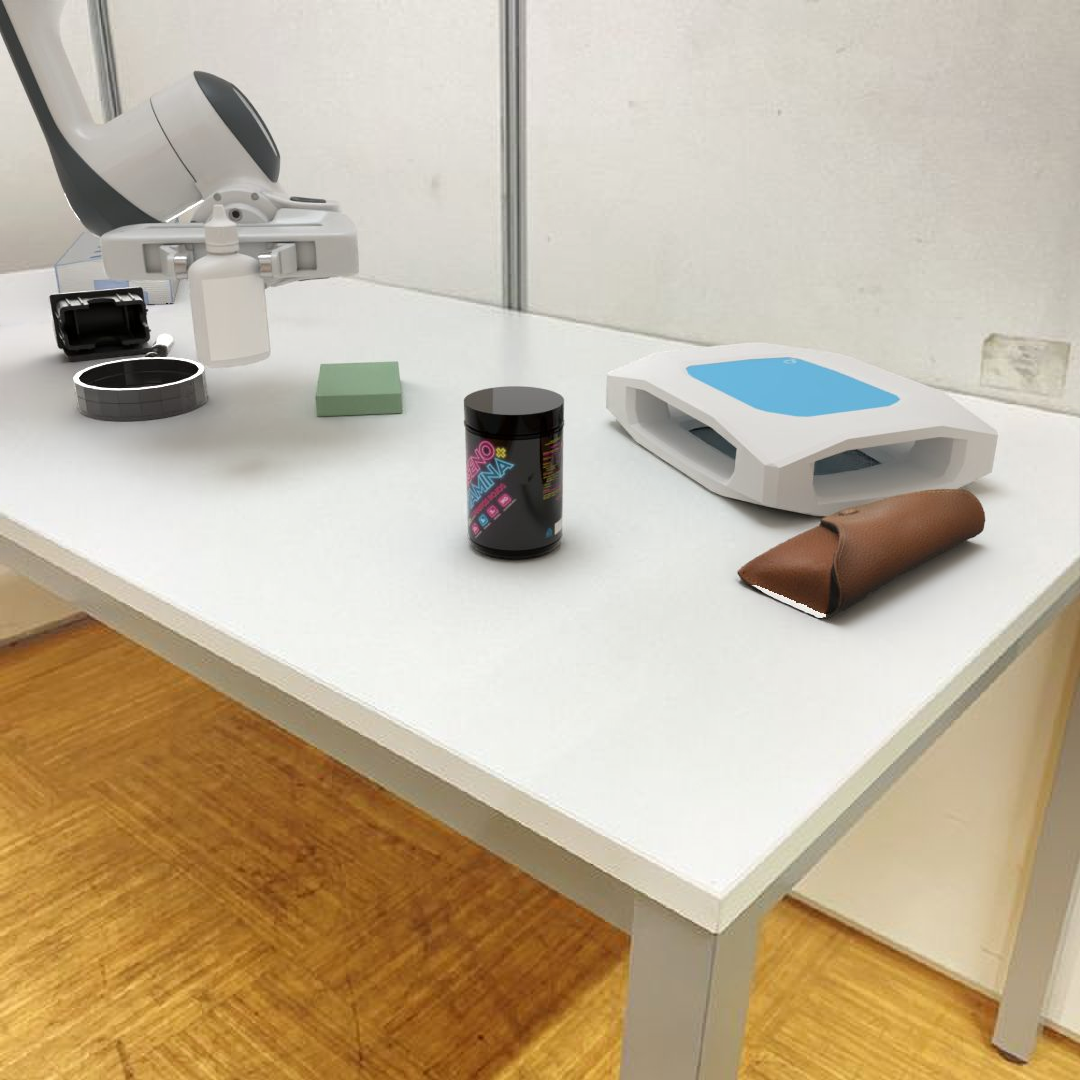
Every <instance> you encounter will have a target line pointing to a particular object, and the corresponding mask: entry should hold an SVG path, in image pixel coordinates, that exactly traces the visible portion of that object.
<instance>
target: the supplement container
mask: <svg viewBox="0 0 1080 1080" xmlns="http://www.w3.org/2000/svg"><path fill="white" fill-rule="evenodd" d="M463 426H464V438H465V439H464V441H465V443H464V444H465V480H466V518H467V519H466V520H467V538H468V539H469V542H470V544H471V546H472V547H474V549H476V551H478V552H479V553H480V554H483V555H485V556H488V557H490V558H491V557H492V558H496V559H502V560H527V559H528V560H529V559H534V558H539V557H542V556H544V555H547V554H549V553H550V552H552V551H553V550H554V549H556V547H558V545H559V544H560V542H561V540H562V538H563V522H564V521H563V520H564V519H563V517H564V516H563V515H564V514H563V513H564V512H563V511H564V509H563V508H564V507H563V506H564V505H563V504H564V497H563V495H564V426H565V398H564V396H563V395H561V394H560V393H558V392H555V391H553V390H549V389H546V388H541V387H535V386H524V385H523V386H522V385H521V386H520V385H519V386H517V385H513V386H512V385H511V386H510V385H507V386H495V387H489V388H483V389H479V390H476V391H473V392H471V393H469V394H467V395H466V396H465V397H464V398H463Z"/></svg>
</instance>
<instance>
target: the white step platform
mask: <svg viewBox="0 0 1080 1080" xmlns="http://www.w3.org/2000/svg"><path fill="white" fill-rule="evenodd" d="M605 389H606V391H605V392H606V393H605V408H606V409H607V410H608V412H609V413H610V414H611V415H612V416H613V417H614V419H616V420H617V421H618V423H619V424H620V426H622V428H623V429H625V431H626V432H627V433H628V434H629V435H630V437H631V438H632V439H633V440H634V441H635V442H636V443H637V444H639V445H640V446H642V447H644V448H645V449H646V450H648V451H649V452H651V453H652V454H654V455H656V456H657V457H658V458H660V459H662V460H663V461H665V462H666V463H668V464H669V465H671V466H673V468H675V469H677V470H678V471H680V472H682V473H683V474H685V475H686V476H688V477H689V478H691V479H692V480H694V481H695V482H697V483H699V484H700V485H701V486H702V487H704V488H706V489H708V490H709V491H710V492H713V493H715V494H717V495H719V496H722V497H726V498H730V499H734V500H739V501H743V502H746V503H750V504H754V505H759V506H764V507H769V508H773V509H777V510H783V511H788V512H793V513H799V514H804V515H809V516H814V517H828V516H830V515H832V514H834V513H837V512H839V511H841V510H844V509H847V508H850V507H854V506H857V505H863V504H867V503H870V502H874V501H878V500H881V499H884V498H888V497H892V496H896V495H901V494H906V493H911V492H918V491H925V490H936V489H960V488H962V487H964V486H966V485H969V484H971V483H973V482H975V481H977V480H978V479H981V478H983V477H985V476H987V475H989V474H991V473H993V468H994V461H995V455H996V449H997V444H998V437H999V434H998V430H997V429H995V428H994V427H993V426H991V425H990V424H988V423H987V422H986V421H984V420H983V419H981V418H980V417H979V416H978V415H976V414H974V413H973V412H972V411H971V410H969V409H968V408H967V407H965V406H964V405H962V404H961V403H960V402H958V401H957V400H955V399H954V398H953V397H951V396H950V395H949V394H948V393H946V392H944V391H942V390H939V389H936V388H934V387H932V386H929V385H927V384H924V383H921V382H918V381H916V380H913V379H911V378H908V377H906V376H903V375H900V374H898V373H895V372H892V371H889V370H887V369H884V368H881V367H878V366H876V365H874V364H870V363H868V362H866V361H863V360H860V359H858V358H854V357H852V356H849V355H846V354H843V353H839V352H833V351H827V350H821V349H820V350H818V349H813V348H806V347H805V348H804V347H798V346H791V345H783V344H777V343H770V342H763V341H762V342H761V341H754V342H753V341H752V342H742V343H730V344H720V345H712V346H700V347H693V348H682V349H672V350H663V351H655V352H653V353H650V354H648V355H646V356H643V357H640V358H638V359H636V360H633V361H631V362H628V363H626V364H624V365H622V366H619V367H617V368H615V369H612V370H609V371H608V373H607V374H606V388H605ZM707 427H709V428H711V429H713V430H714V431H715V432H716V433H717V434H719V436H721V437H722V438H723V439H724V440H726V441H727V442H728V443H729V444H731V445H732V446H733V447H734V448H735V449H736V451H735V458H733V457H731V456H730V455H728V454H727V453H725V452H723V451H721V450H720V449H718V448H716V447H714V446H713V445H711V444H709V443H708V442H706V441H704V440H703V439H701V438H699V437H698V436H696V435H695V434H693V432H690V431H691V430H694V429H699V428H700V429H701V428H707ZM854 450H858V451H860V452H862V453H863V454H865V455H867V456H868V457H870V458H872V459H873V460H875V461H876V462H878V463H879V464H878V463H877V464H875V465H871V466H866V467H864V468H859V469H853V470H846V471H839V472H834V473H828V474H816V475H814V474H815V473H814V472H815V464H816V462H817V461H821V460H824V459H826V458H830V457H832V456H836V455H839V454H841V453H844V452H847V451H848V452H849V451H854Z"/></svg>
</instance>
